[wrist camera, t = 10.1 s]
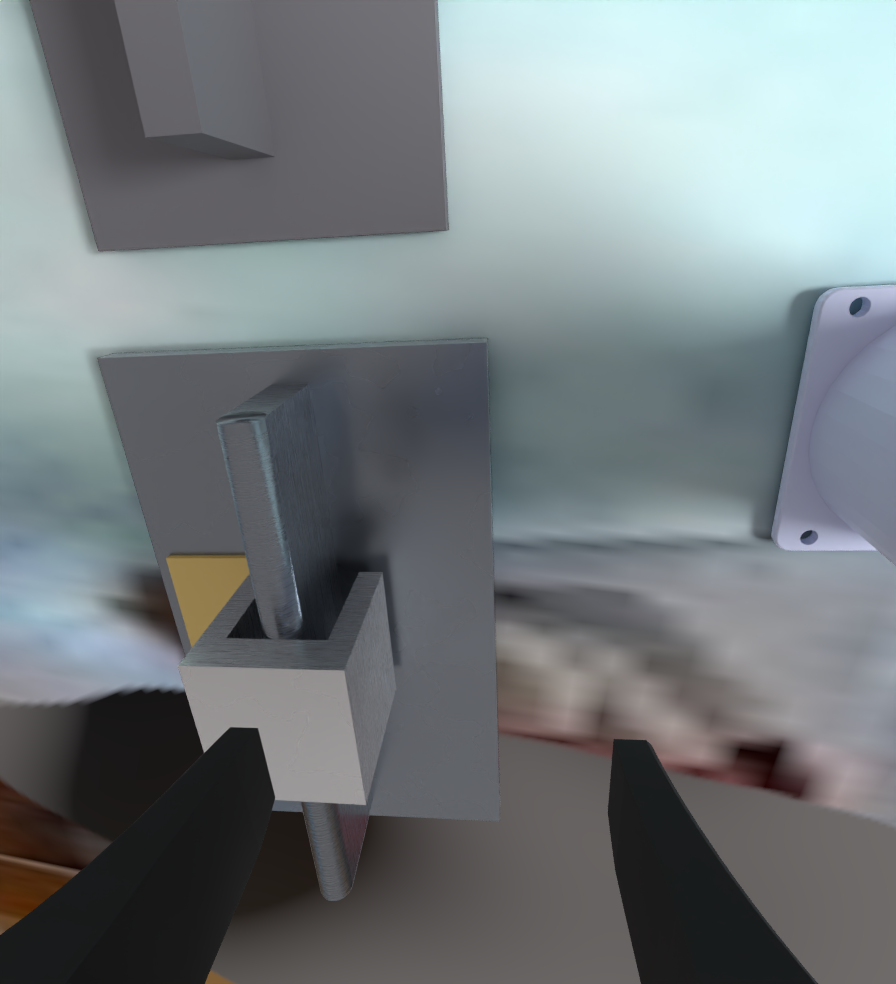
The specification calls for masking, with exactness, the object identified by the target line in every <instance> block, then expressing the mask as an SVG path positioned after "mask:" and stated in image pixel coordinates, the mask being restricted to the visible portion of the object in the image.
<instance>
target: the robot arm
mask: <svg viewBox="0 0 896 984" xmlns="http://www.w3.org/2000/svg"><path fill="white" fill-rule="evenodd" d="M859 297H860V298H861V299H862V303H863V305H862V307H861V309H860V311H858V312H857V313H856V314H854V315H851V314H850V310H849V307H850V305H851V303H852V302H853V301H854V300H855V299H856V298H859ZM809 530H812V533H811V535H810V536H809V537H807V538H804V539H800V537H801V535H802V534H803V533H804V532H806V531H809ZM771 536H772V539H773V541H774V542H775V544H776V545H777V546H778V547H779V548H781V549H783V550H788V551H857V550H878V551H879V552H880V553H881V554H883V555H884V556H885V557H886V558H887V559H888V560H890V561H891V562H892V563H893V564H894V565H895V566H896V284H895V285H874V286H853V287H836V288H832V289H829V290H827V291H826V292H824V293H823V294H822V295H821V296H820V297H819V298H818V300H817V302H816V304H815V307H814V311H813V316H812V322H811V327H810V332H809V337H808V343H807V348H806V353H805V358H804V364H803V369H802V374H801V379H800V385H799V390H798V395H797V400H796V406H795V411H794V416H793V421H792V427H791V432H790V437H789V442H788V448H787V453H786V458H785V463H784V469H783V474H782V479H781V485H780V490H779V495H778V500H777V506H776V511H775V516H774V521H773V527H772V532H771ZM274 801H275V794H274V790H273V786H272V782H271V778H270V774H269V770H268V766H267V762H266V758H265V754H264V750H263V746H262V742H261V738H260V734H259V730H258V728H242V727H230V728H229V729H228V730H227V731H226V732H225V733H224V734H223V735H222V736H221V737H220V738H219V739H218V740H217V741H216V742H215V743H214V744H213V745H212V746H211V747H210V748H209V749H208V750H207V751H206V752H205V753H204V754H203V755H202V756H201V757H200V758H199V759H198V760H197V761H196V762H195V763H194V764H193V765H192V766H191V767H190V768H189V769H188V770H187V771H186V772H185V773H184V774H183V775H182V776H181V777H180V778H179V779H178V780H177V781H176V782H175V783H174V784H173V785H172V786H171V787H170V788H169V789H168V790H167V791H166V792H165V793H164V794H163V795H162V796H161V797H160V798H159V799H158V800H157V801H156V802H155V803H154V804H153V805H152V806H151V807H150V808H149V809H148V810H147V811H146V812H145V813H144V814H143V815H142V816H141V817H139V818H138V819H137V820H136V821H135V822H134V823H133V824H132V825H131V826H130V827H129V828H128V829H127V830H126V831H125V832H123V833H122V834H121V835H120V836H119V837H118V838H117V839H116V840H115V841H114V842H113V843H111V844H110V845H109V846H108V847H107V848H106V849H105V850H104V851H103V852H102V853H100V854H99V855H98V856H97V857H96V858H95V859H94V860H93V861H92V862H91V863H89V864H88V865H87V866H86V867H85V868H84V869H83V870H81V871H80V872H79V873H78V874H77V875H76V876H74V877H73V878H72V879H71V880H70V881H69V882H67V883H66V884H65V885H64V886H63V887H61V888H60V889H59V890H58V891H56V892H55V893H54V894H53V895H51V896H50V897H49V898H48V899H46V900H45V901H44V902H43V903H42V904H40V905H39V906H38V907H37V908H35V909H34V910H33V911H32V912H30V913H29V914H28V915H26V916H25V917H24V918H23V919H21V920H20V921H19V922H17V923H16V924H15V925H13V926H12V927H11V928H9V929H8V930H6V931H5V932H4V933H2V934H1V935H0V984H205V982H206V979H207V976H208V974H209V972H210V969H211V967H212V965H213V962H214V960H215V957H216V955H217V953H218V950H219V948H220V946H221V943H222V941H223V938H224V936H225V934H226V931H227V929H228V926H229V924H230V922H231V919H232V917H233V915H234V912H235V910H236V907H237V905H238V903H239V900H240V898H241V895H242V893H243V891H244V888H245V886H246V883H247V881H248V878H249V876H250V874H251V871H252V869H253V866H254V864H255V862H256V859H257V856H258V854H259V851H260V848H261V845H262V842H263V839H264V836H265V832H266V829H267V826H268V822H269V818H270V815H271V811H272V808H273V804H274ZM608 817H609V826H610V833H611V842H612V849H613V857H614V864H615V870H616V875H617V880H618V885H619V889H620V893H621V898H622V902H623V906H624V911H625V916H626V920H627V924H628V928H629V933H630V937H631V942H632V946H633V950H634V954H635V959H636V963H637V968H638V972H639V976H640V981H641V984H818V983H817V982H816V981H815V980H814V978H813V977H812V976H811V975H810V974H809V973H808V971H807V970H806V969H805V968H804V967H803V965H802V964H801V963H800V962H799V961H798V960H797V958H796V957H795V956H794V955H793V953H792V952H791V951H790V950H789V948H788V947H787V946H786V945H785V944H784V942H783V941H782V940H781V939H780V937H779V936H778V935H777V934H776V933H775V931H774V930H773V929H772V927H771V926H770V925H769V923H768V922H767V921H766V920H765V918H764V917H763V916H762V914H761V913H760V912H759V910H758V909H757V908H756V907H755V905H754V904H753V903H752V901H751V900H750V898H749V897H748V896H747V894H746V893H745V892H744V890H743V889H742V888H741V886H740V885H739V884H738V882H737V881H736V879H735V878H734V877H733V875H732V874H731V872H730V871H729V870H728V868H727V867H726V865H725V864H724V863H723V861H722V860H721V858H720V857H719V855H718V854H717V852H716V851H715V849H714V848H713V846H712V845H711V843H710V842H709V840H708V839H707V838H706V836H705V834H704V833H703V831H702V830H701V828H700V827H699V826H698V824H697V822H696V821H695V819H694V818H693V816H692V815H691V813H690V811H689V810H688V808H687V807H686V805H685V804H684V802H683V800H682V799H681V797H680V795H679V794H678V792H677V790H676V789H675V787H674V785H673V784H672V782H671V780H670V779H669V777H668V775H667V773H666V771H665V770H664V768H663V766H662V764H661V762H660V761H659V759H658V757H657V755H656V753H655V751H654V749H653V747H652V745H651V744H650V743H649V742H647V741H646V740H622V739H614V742H613V754H612V768H611V779H610V792H609V804H608Z"/></svg>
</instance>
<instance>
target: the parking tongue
mask: <svg viewBox="0 0 896 984" xmlns="http://www.w3.org/2000/svg"><path fill="white" fill-rule="evenodd" d="M30 4H31V7H32V11H33V15H34V18H35V22H36V25H37V29H38V33H39V36H40V40H41V44H42V47H43V51H44V55H45V58H46V62H47V65H48V69H49V73H50V76H51V80H52V84H53V87H54V91H55V95H56V98H57V102H58V106H59V109H60V113H61V116H62V120H63V124H64V127H65V131H66V135H67V138H68V142H69V146H70V149H71V153H72V156H73V160H74V164H75V167H76V171H77V175H78V178H79V182H80V186H81V189H82V193H83V196H84V200H85V204H86V207H87V211H88V215H89V218H90V222H91V226H92V229H93V233H94V237H95V240H96V244H97V247H98V251H115V250H132V249H148V248H164V247H181V246H197V245H213V244H230V243H246V242H262V241H278V240H295V239H311V238H327V237H344V236H360V235H376V234H393V233H409V232H425V231H442V230H449V224H448V203H447V183H446V163H445V143H444V123H443V103H442V83H441V63H440V43H439V23H438V3H437V0H30Z"/></svg>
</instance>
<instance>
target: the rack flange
mask: <svg viewBox="0 0 896 984" xmlns="http://www.w3.org/2000/svg"><path fill="white" fill-rule="evenodd" d="M97 359H98V362H99V366H100V369H101V372H102V376H103V379H104V383H105V386H106V389H107V393H108V396H109V399H110V403H111V406H112V410H113V413H114V416H115V420H116V423H117V427H118V430H119V433H120V437H121V440H122V443H123V447H124V450H125V454H126V457H127V460H128V464H129V467H130V470H131V474H132V477H133V481H134V484H135V487H136V491H137V494H138V497H139V501H140V504H141V508H142V511H143V514H144V518H145V521H146V525H147V528H148V531H149V535H150V538H151V541H152V545H153V548H154V552H155V555H156V558H157V562H158V565H159V568H160V572H161V575H162V579H163V582H164V585H165V589H166V592H167V595H168V599H169V602H170V606H171V609H172V612H173V616H174V619H175V623H176V626H177V629H178V633H179V636H180V639H181V643H182V646H183V650H184V653H185V656H186V655H187V653H188V652H189V651H190V650H191V648H192V647H193V646H194V644H195V643H196V642H197V641H198V639H199V638H200V637H201V635H202V634H203V633H204V631H205V630H206V629H207V628H208V626H209V625H210V624H211V622H212V621H213V620H214V619H215V617H216V616H217V615H218V613H219V612H220V611H221V610H222V608H223V607H224V606H225V604H226V603H227V602H228V601H229V599H230V598H231V597H232V595H233V594H234V593H235V591H236V590H237V589H238V588H239V586H240V585H241V584H242V582H243V581H244V580H245V579H246V577H247V576H248V575H249V573H250V577H251V582H252V586H253V590H254V595H255V599H256V604H257V608H258V613H259V617H260V622H261V626H262V631H263V635H264V639H276V640H277V639H286V640H328V639H329V637H330V635H331V633H332V630H333V628H334V626H335V624H336V622H337V619H338V617H339V615H340V613H341V611H342V608H343V606H344V604H345V602H346V600H347V597H348V595H349V593H350V591H351V589H352V586H353V584H354V582H355V580H356V578H357V576H358V573H359V572H383V581H384V589H385V598H386V606H387V615H388V623H389V632H390V640H391V649H392V657H393V666H394V674H395V682H396V691H395V695H394V699H393V703H392V707H391V711H390V714H389V718H388V722H387V726H386V730H385V734H384V738H383V742H382V745H381V749H380V753H379V757H378V761H377V765H376V769H375V772H374V776H373V780H372V784H371V788H370V792H369V796H368V799H367V803H366V805H357V804H339V803H321V802H303V801H285V800H275V801H274V804H273V808H272V810H273V811H296V812H303V813H304V818H305V822H306V827H307V831H308V835H309V840H310V844H311V849H312V853H313V858H314V862H315V866H316V871H317V875H318V880H319V884H320V889H321V893H322V895H323V896H324V897H325V898H326V899H327V900H330V901H336V900H340V899H342V898H344V897H345V896H346V895H347V894H348V893H349V892H350V890H351V888H352V885H353V881H354V877H355V873H356V869H357V864H358V860H359V856H360V852H361V847H362V843H363V839H364V834H365V831H366V826H367V822H368V817H369V815H379V816H381V815H382V816H400V817H401V816H402V817H422V818H443V819H464V820H486V821H500V778H499V743H498V704H497V668H496V631H495V594H494V557H493V520H492V484H491V447H490V410H489V373H488V338H472V339H447V340H423V341H399V342H375V343H350V344H326V345H302V346H277V347H253V348H229V349H205V350H180V351H156V352H132V353H112V354H109V355H106V356H103V357H99V358H97Z"/></svg>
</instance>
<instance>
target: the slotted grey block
mask: <svg viewBox="0 0 896 984" xmlns="http://www.w3.org/2000/svg"><path fill="white" fill-rule="evenodd" d="M178 668H179V672H180V675H181V678H182V681H183V685H184V688H185V691H186V694H187V698H188V701H189V704H190V707H191V711H192V714H193V717H194V720H195V724H196V727H197V730H198V733H199V737H200V740H201V743H202V747H203V750H204V753H205V752H206V751H207V750H208V749H209V748H210V747H211V746H212V745H213V744H214V743H215V742H216V741H217V740H218V739H219V738H220V737H221V736H222V735H223V734H224V733H225V732H226V731H227V730H228V729H229V728H230V727H242V728H258V730H259V734H260V738H261V742H262V746H263V750H264V754H265V758H266V762H267V766H268V770H269V774H270V778H271V782H272V786H273V790H274V794H275V800H285V801H303V802H321V803H339V804H357V805H366V803H367V799H368V796H369V792H370V788H371V784H372V780H373V776H374V772H375V769H376V765H377V761H378V757H379V753H380V749H381V745H382V742H383V738H384V734H385V730H386V726H387V722H388V718H389V714H390V711H391V707H392V703H393V699H394V695H395V691H396V682H395V674H394V666H393V657H392V649H391V640H390V632H389V623H388V615H387V606H386V598H385V589H384V581H383V572H359V573H358V576H357V578H356V580H355V582H354V584H353V586H352V589H351V591H350V593H349V595H348V597H347V600H346V602H345V604H344V606H343V608H342V611H341V613H340V615H339V617H338V619H337V622H336V624H335V626H334V628H333V630H332V633H331V635H330V637H329V639H328V640H286V639H277V640H276V639H264V635H263V631H262V626H261V622H260V617H259V613H258V608H257V604H256V599H255V595H254V590H253V586H252V582H251V577H250V573H249V575H248V576H247V577H246V579H245V580H244V581H243V582H242V584H241V585H240V586H239V588H238V589H237V590H236V591H235V593H234V594H233V595H232V597H231V598H230V599H229V601H228V602H227V603H226V604H225V606H224V607H223V608H222V610H221V611H220V612H219V613H218V615H217V616H216V617H215V619H214V620H213V621H212V622H211V624H210V625H209V626H208V628H207V629H206V630H205V631H204V633H203V634H202V635H201V637H200V638H199V639H198V641H197V642H196V643H195V644H194V646H193V647H192V648H191V650H190V651H189V652H188V653H187V655H186V656H185V657H184V659H183V660H182V661H181V662H180V664H179V665H178Z"/></svg>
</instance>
